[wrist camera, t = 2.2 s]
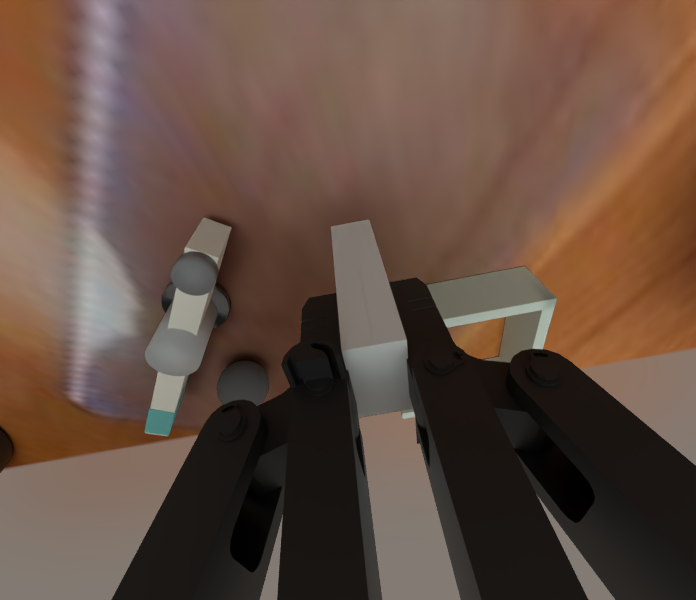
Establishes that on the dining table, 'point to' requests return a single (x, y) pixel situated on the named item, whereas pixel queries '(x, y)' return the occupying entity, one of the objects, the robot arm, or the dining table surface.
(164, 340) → the teal-tipped knobbed bar
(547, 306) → the box
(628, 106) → the dining table surface
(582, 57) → the dining table surface
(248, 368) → the ball
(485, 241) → the dining table surface
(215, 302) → the pivot base
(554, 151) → the dining table surface
